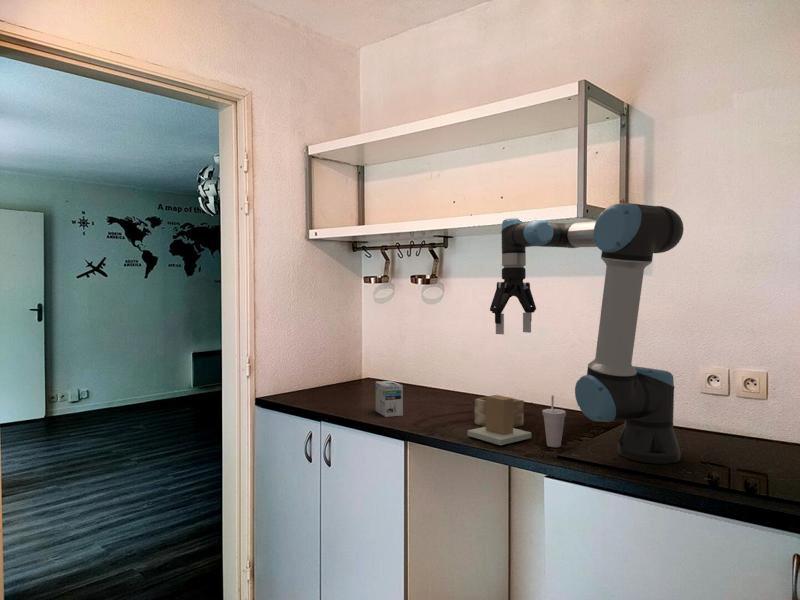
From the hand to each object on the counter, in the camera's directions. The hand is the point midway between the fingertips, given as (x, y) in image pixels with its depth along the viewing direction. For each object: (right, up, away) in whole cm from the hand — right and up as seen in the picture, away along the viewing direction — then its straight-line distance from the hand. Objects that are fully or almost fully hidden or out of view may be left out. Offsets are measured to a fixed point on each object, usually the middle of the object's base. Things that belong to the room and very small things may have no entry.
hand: (513, 333), depth 181 cm
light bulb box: (-41, -29, +16) cm, 52 cm away
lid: (-8, -29, -17) cm, 34 cm away
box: (-5, -29, +1) cm, 30 cm away
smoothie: (+6, -30, -24) cm, 39 cm away
